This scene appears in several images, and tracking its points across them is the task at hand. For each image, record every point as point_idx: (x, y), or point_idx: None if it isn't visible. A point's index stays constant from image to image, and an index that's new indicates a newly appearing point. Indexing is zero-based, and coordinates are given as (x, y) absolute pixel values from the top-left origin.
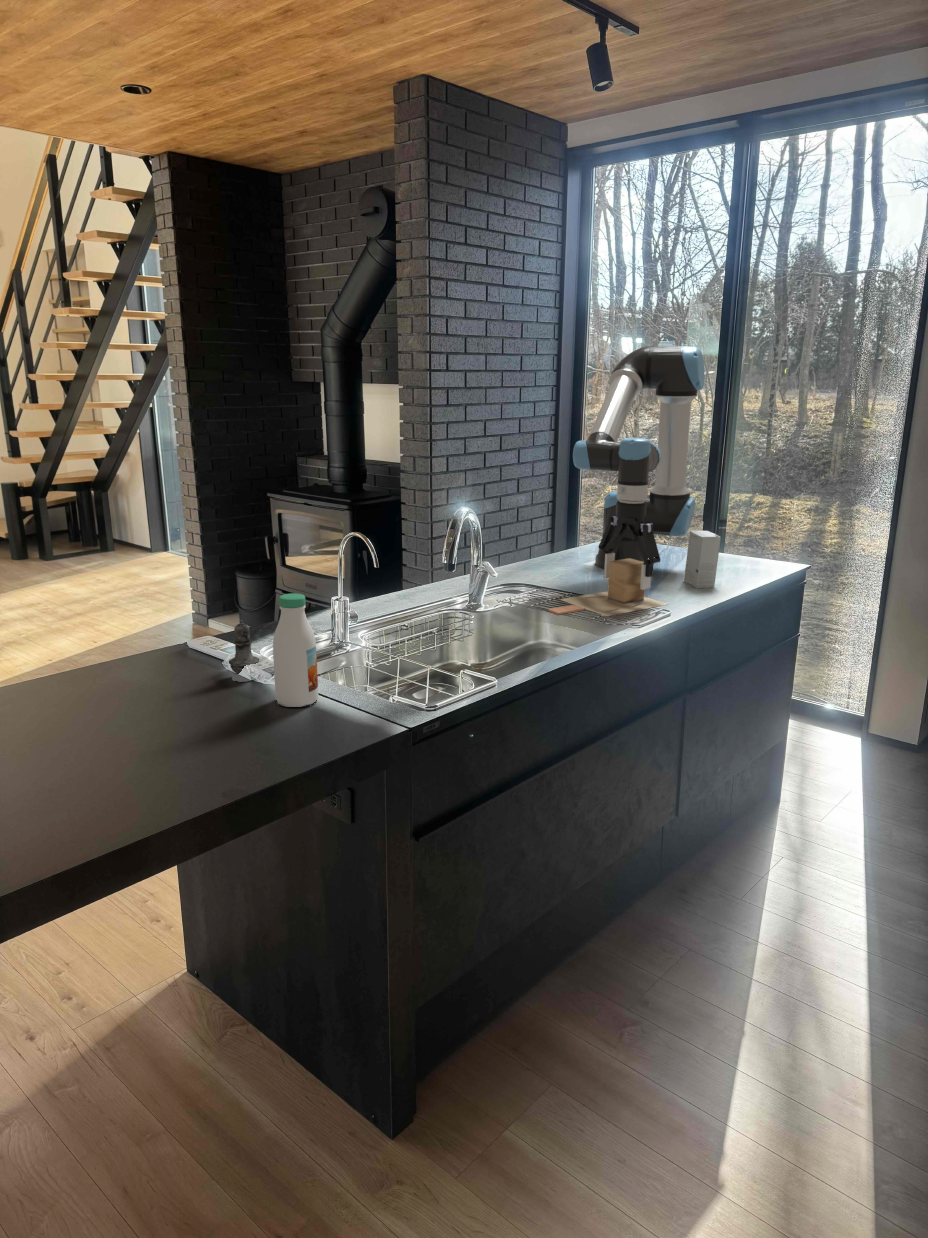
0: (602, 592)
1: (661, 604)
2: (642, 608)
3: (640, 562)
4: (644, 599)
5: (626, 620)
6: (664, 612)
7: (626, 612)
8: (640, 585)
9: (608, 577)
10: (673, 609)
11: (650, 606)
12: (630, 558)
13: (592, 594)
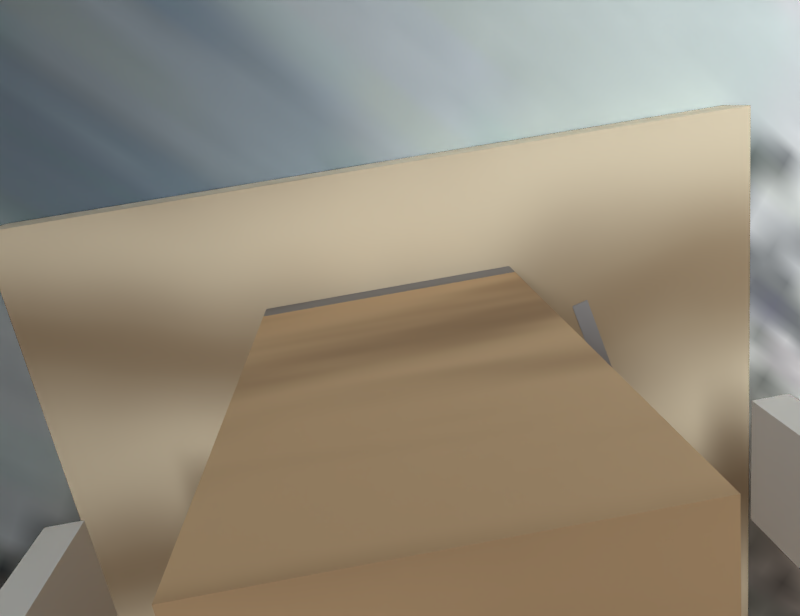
0: (76, 483)
1: (717, 186)
2: (728, 432)
3: (656, 601)
4: (481, 236)
5: (790, 611)
6: (788, 218)
7: (747, 602)
8: (780, 547)
9: (107, 604)
10: (760, 66)
11: (716, 331)
12: (174, 600)
13: (125, 598)
